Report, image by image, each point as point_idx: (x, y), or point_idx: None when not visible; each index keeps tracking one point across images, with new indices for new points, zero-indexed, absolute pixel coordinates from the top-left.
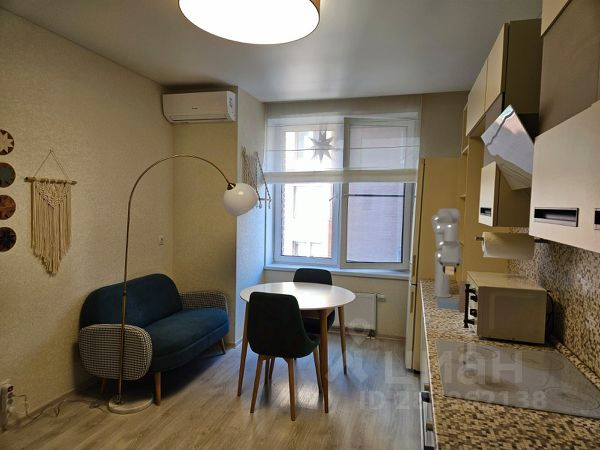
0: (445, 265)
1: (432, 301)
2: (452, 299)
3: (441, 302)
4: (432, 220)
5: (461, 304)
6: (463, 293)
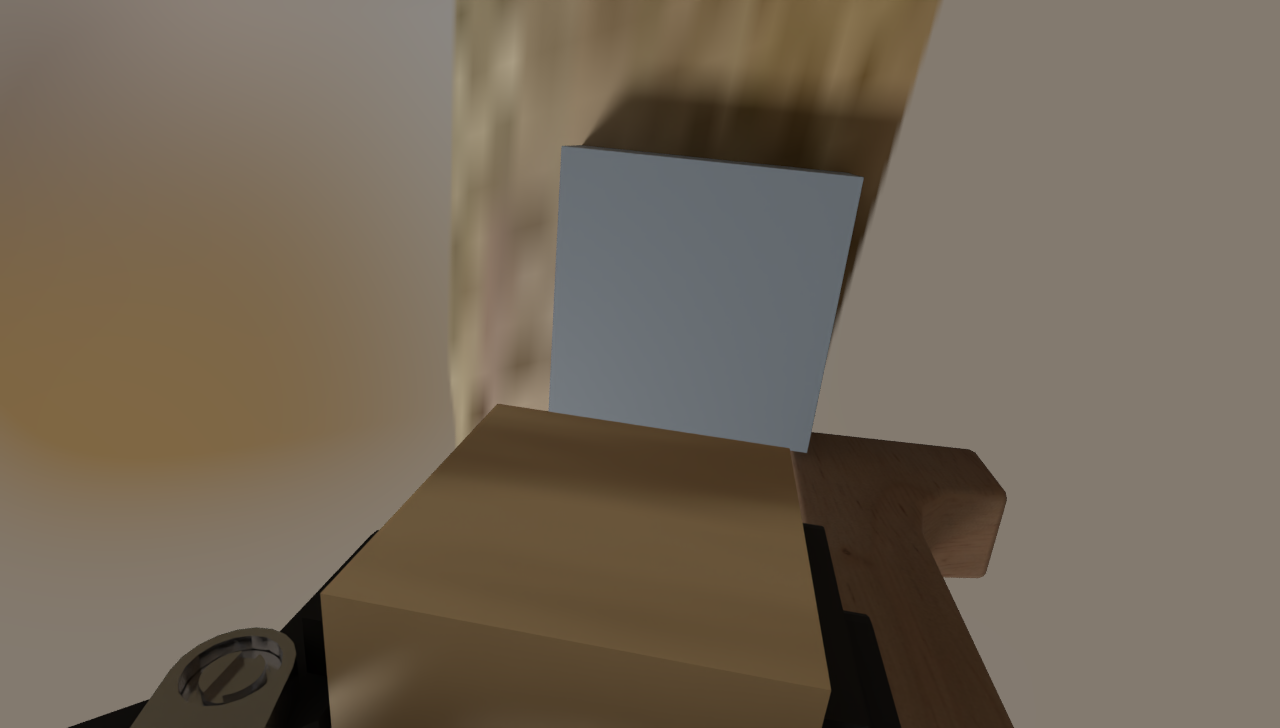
0: (349, 705)
1: (529, 67)
2: (778, 210)
3: (587, 413)
4: None
5: None
6: None
